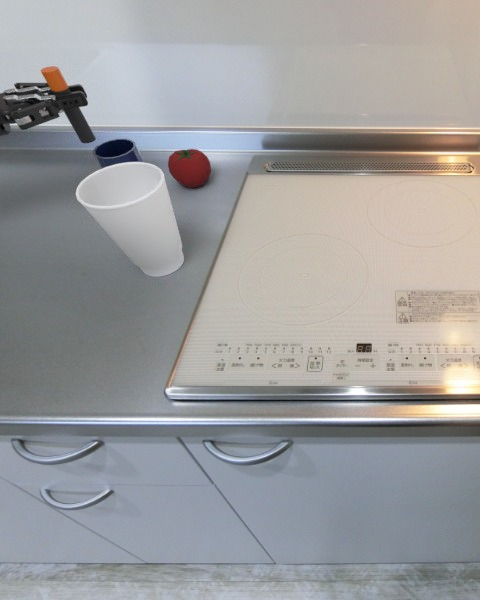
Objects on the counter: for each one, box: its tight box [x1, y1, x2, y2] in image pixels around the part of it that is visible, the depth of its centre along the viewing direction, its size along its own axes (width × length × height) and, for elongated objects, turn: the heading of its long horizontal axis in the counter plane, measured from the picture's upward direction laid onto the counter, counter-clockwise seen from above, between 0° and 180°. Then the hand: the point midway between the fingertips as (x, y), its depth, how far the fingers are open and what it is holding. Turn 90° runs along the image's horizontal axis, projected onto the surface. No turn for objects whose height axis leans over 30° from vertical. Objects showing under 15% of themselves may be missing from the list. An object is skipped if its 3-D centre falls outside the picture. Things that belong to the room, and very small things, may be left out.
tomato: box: [167, 148, 212, 189], centre depth 89 cm, size 8×8×7 cm
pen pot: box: [92, 138, 146, 169], centre depth 88 cm, size 8×8×8 cm
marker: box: [40, 65, 97, 144], centre depth 74 cm, size 2×2×12 cm
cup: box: [75, 161, 185, 278], centre depth 69 cm, size 12×12×16 cm
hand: (84, 94), depth 73 cm, fingers closed on marker, 2 cm apart
